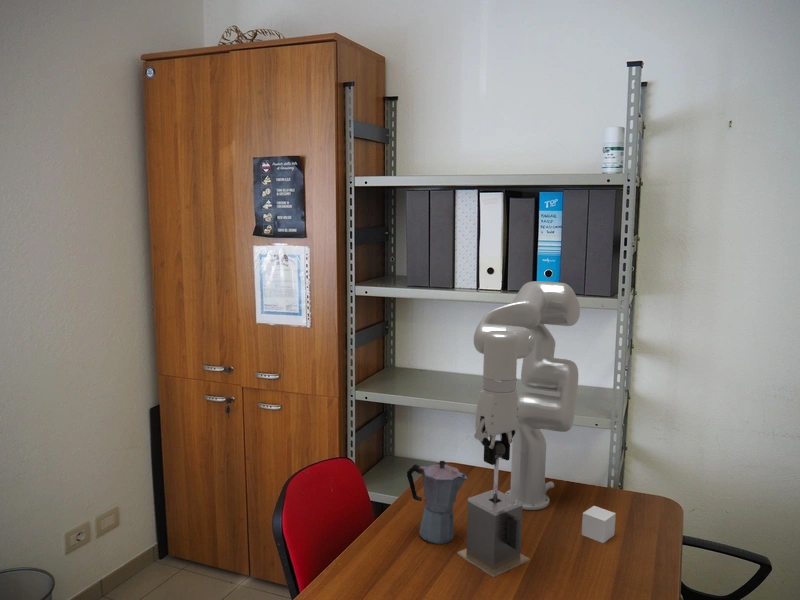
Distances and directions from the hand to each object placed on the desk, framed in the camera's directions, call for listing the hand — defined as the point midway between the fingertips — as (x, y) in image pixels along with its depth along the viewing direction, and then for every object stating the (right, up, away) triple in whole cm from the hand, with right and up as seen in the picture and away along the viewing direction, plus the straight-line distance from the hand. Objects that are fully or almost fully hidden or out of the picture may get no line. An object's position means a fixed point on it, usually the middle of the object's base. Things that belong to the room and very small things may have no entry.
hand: (496, 460), depth 146 cm
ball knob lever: (0, -12, +2) cm, 12 cm away
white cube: (+28, -23, +15) cm, 40 cm away
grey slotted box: (0, -24, +3) cm, 24 cm away
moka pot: (-14, -23, +13) cm, 30 cm away
